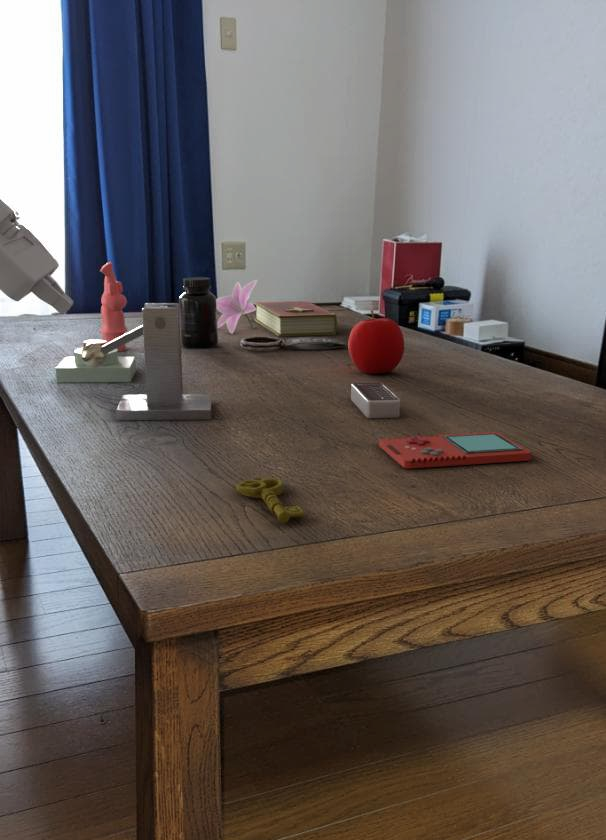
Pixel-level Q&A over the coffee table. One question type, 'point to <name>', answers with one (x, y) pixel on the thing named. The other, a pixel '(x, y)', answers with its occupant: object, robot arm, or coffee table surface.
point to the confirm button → (101, 342)
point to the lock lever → (106, 348)
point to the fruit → (376, 345)
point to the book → (295, 318)
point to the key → (269, 496)
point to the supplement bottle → (198, 314)
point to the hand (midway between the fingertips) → (69, 309)
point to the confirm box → (96, 369)
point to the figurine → (112, 307)
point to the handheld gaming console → (454, 450)
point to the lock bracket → (163, 372)
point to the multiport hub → (375, 400)
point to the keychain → (290, 343)
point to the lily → (235, 305)
